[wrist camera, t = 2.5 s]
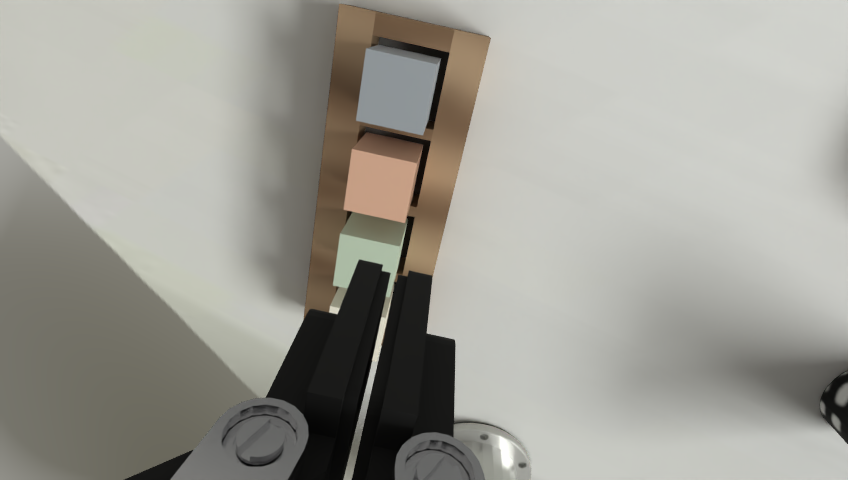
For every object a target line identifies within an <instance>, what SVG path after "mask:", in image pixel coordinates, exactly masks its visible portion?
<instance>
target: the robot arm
mask: <svg viewBox="0 0 848 480" xmlns="http://www.w3.org/2000/svg"><path fill="white" fill-rule="evenodd" d="M382 268H383V264H378V263H374V262H369V261H365V260H360V259H359V261H358V263H357V266H356V268H355V271H354V273H353V276H352V278H351V281H350V283H349V286H348V289H347V291H346V294H345V296H344V299H343V301H342V304H341V306H340V309H339V312H338V314H334V313H329V312H325V311H320V310H316V309H310V310H309V311H308V313H307V314H306V316H305V319H304V321H303V323H302V325H301V327H300V329H299V331H298V333H297V335H296V337H295V339H294V341H293V343H292V345H291V347H290V349H289V351H288V353H287V355H286V357H285V359H284V361H283V364H282V366H281V368H280V370H279V372H278V374H277V376H276V378H275V380H274V382H273V384H272V386H271V388H270V390H269V392H268V394H267V396H266V398H255V399H251V400H248V401H244V402H241V403H239V404H237V405H236V406H234V407H232V408H230V409H228V410H227V411H226V412H225V413H224V414H223V415H222V416H221V417H220V418H219V419H218V420H217V421H216V423H215V424H214V425H213V426H212V428H211V429H210V430H209V432H208V433H207V434H206V435H205V437H204V438H203V439H202V440H201V442H200V443H199V444H198V445H197V447H196V448H195V449H194V450H192V451H189V452H187V453H185V454H183V455H180V456H178V457H176V458H173V459H171V460H169V461H166V462H164V463H162V464H160V465H157V466H155V467H153V468H150V469H148V470H146V471H143V472H141V473H139V474H137V475H134V476H132V477H129V478H127V479H125V480H343V478H344V474H345V470H346V466H347V462H348V458H349V454H350V450H351V446H352V442H353V438H354V434H355V429H356V425H357V421H358V417H359V413H360V409H361V405H362V401H363V397H364V393H365V389H366V385H367V381H368V377H369V372H370V368H371V363H372V359H373V354H374V349H375V345H376V340H377V335H378V331H379V326H380V321H381V317H382V312H383V307H384V303H385V298H386V293H387V288H388V284H389V279H390V274H391V273H389V272H385V271H382ZM431 285H432V275H428V274H423V273H419V272H414V271H410V270H409V272H408V276H403V275H398V278H397V282H396V287H395V291H394V296H393V300H392V304H391V309H390V313H389V317H388V322H387V326H386V330H385V335H384V339H383V344H382V348H381V352H380V357H379V361H378V365H377V370H376V374H375V379H374V383H373V387H372V392H371V396H370V400H369V405H368V409H367V414H366V418H365V423H364V427H363V432H362V436H361V441H360V445H359V450H358V454H357V459H356V464H355V468H354V473H353V477H352V480H531V465H530V459H529V456H528V454H527V452H526V450H525V448H524V447H523V446H522V444H521V443H520V442H519V441H518V440H517V439H515V438H514V437H513V436H512V435H510V434H508V433H507V432H505V431H503V430H501V429H498V428H496V427H493V426H489V425H485V424H478V423H458V424H454V391H455V340H454V339H449V338H445V337H440V336H435V335H431V334H426V333H427V323H428V314H429V304H430V295H431Z"/></svg>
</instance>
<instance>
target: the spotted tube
mask: <svg viewBox="0 0 848 480" xmlns="http://www.w3.org/2000/svg"><path fill="white" fill-rule="evenodd" d="M820 409H821V413H822V415H823V417H824V418H825V419H826V421H827V422H828V423H829V424H830V425H831V426H832V427H833V428H834V429H835V430H836V432H837V433H838V434H839V435H840V436H841V437H842V438H843V439H844V440H845V442H846V443H847V444H848V371H847V372H845V373H843V374H842V375H840V376H839V377H837V378H836V379H835V380H834V381H833V382H832V383H831V384H830V385H829V386H828V387H827V389H826V390H825V391H824V393H823V396H822V398H821V403H820Z"/></svg>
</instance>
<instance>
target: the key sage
mask: <svg viewBox="0 0 848 480" xmlns="http://www.w3.org/2000/svg"><path fill="white" fill-rule="evenodd" d="M407 221H408V219H406V222H405V223H402V222H398V221H393V220H388V219H384V218H379V217H375V216H370V215H365V214H361V213H356V212H352V214H351V216H350V218H349V219H348V221H347V223H346V224H345V226H344V228H343V230H342V231H341V233H340V238H339V245H338V252H337V260H336V267H335V274H334V281H333V286H338V287H342V288H347V289H348V286H349V283H350V281H351V278H352V276H353V273H354V271H355V268H356V266H357V263H358V261H359V259H360V260H365V261H369V262H374V263H378V264H383V268H382V271H385V272H389V273H391V274H390V279H389V284H388V288H387V293H386V297H389V298H390V295H391V292H392V288H393V284H394V280H395V277H396V273H397V269H398V265H399V260H400V256H401V251H402V246H403V241H404V236H405V231H406V226H407Z"/></svg>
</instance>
